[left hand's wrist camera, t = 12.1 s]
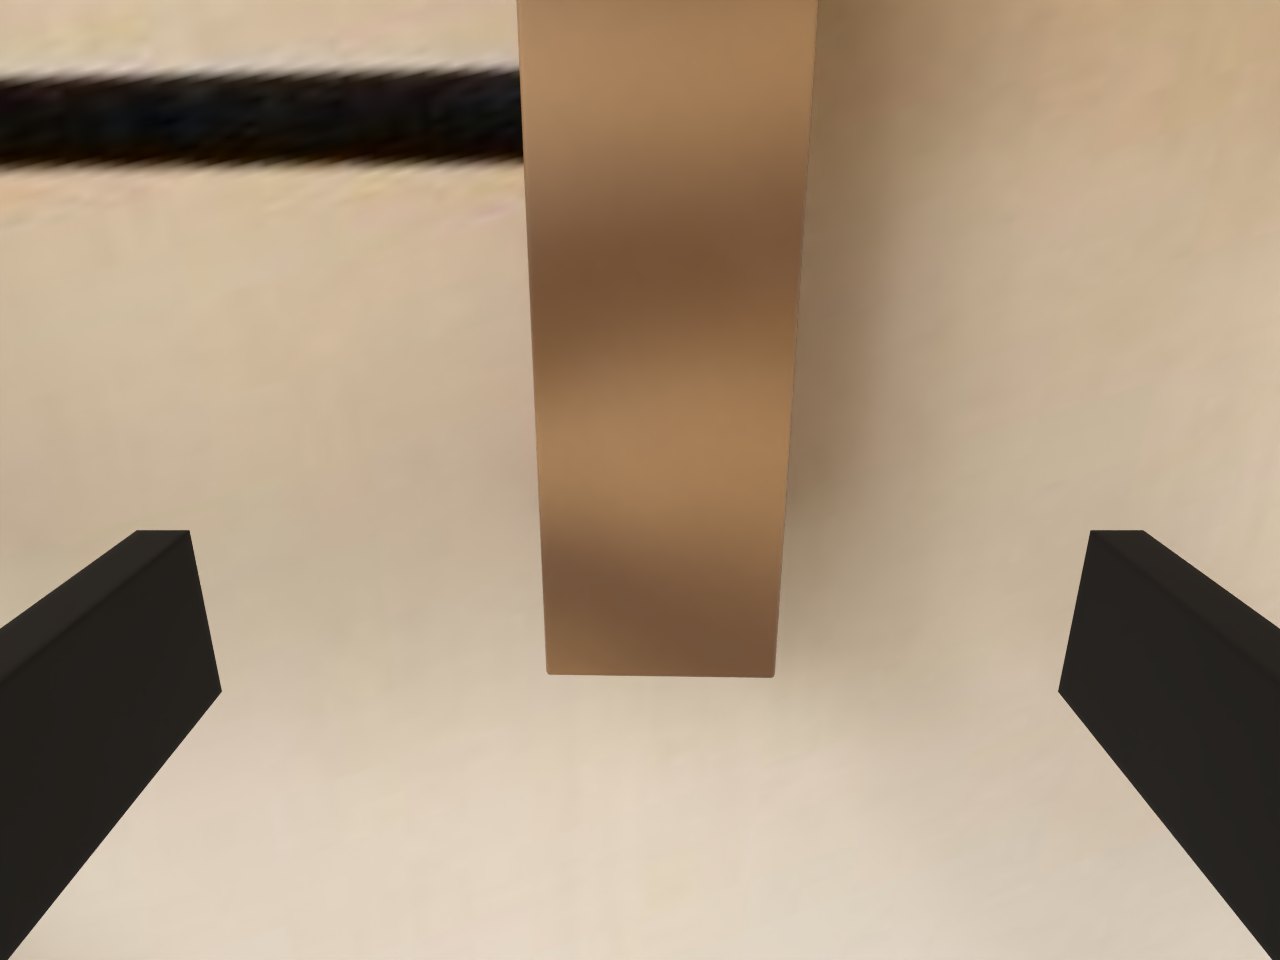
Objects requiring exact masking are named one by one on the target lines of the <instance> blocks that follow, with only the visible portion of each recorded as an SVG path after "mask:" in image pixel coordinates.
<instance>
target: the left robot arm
mask: <svg viewBox="0 0 1280 960" xmlns="http://www.w3.org/2000/svg"><path fill="white" fill-rule="evenodd" d="M221 692H222V690H221V685H220V680H219V675H218V670H217V665H216V660H215V655H214V650H213V645H212V640H211V635H210V630H209V625H208V620H207V615H206V610H205V605H204V600H203V595H202V590H201V585H200V581H199V576H198V571H197V566H196V561H195V556H194V551H193V546H192V541H191V536H190V531H189V530H137V531H135V532H134V533H133V534H131V535H130V536H128V537H127V538H126V539H124V540H123V541H121V542H120V543H119V544H117V545H116V546H114V547H113V548H112V549H110V550H109V551H108V552H106V553H105V554H103V555H102V556H101V557H99V558H98V559H96V560H95V561H94V562H92V563H91V564H89V565H88V566H87V567H85V568H84V569H83V570H81V571H80V572H78V573H77V574H76V575H74V576H73V577H71V578H70V579H69V580H67V581H66V582H64V583H63V584H62V585H60V586H59V587H58V588H56V589H55V590H53V591H52V592H51V593H49V594H48V595H46V596H45V597H44V598H42V599H41V600H39V601H38V602H37V603H35V604H34V605H33V606H31V607H30V608H28V609H27V610H26V611H24V612H23V613H21V614H20V615H19V616H17V617H16V618H15V619H13V620H12V621H10V622H9V623H8V624H6V625H5V626H3V627H2V628H1V629H0V960H8V959H9V957H10V956H11V955H12V954H13V952H14V951H15V950H16V949H17V947H18V946H19V945H20V944H21V942H22V941H23V940H24V939H25V937H26V936H27V935H28V934H29V932H30V931H31V930H32V929H33V927H34V926H35V925H36V924H37V922H38V921H39V920H40V919H41V917H42V916H43V915H44V914H45V912H46V911H47V910H48V909H49V907H50V906H51V905H52V904H53V902H54V901H55V900H56V899H57V897H58V896H59V895H60V894H61V892H62V891H63V890H64V889H65V887H66V886H67V885H68V884H69V882H70V881H71V880H72V879H73V877H74V876H75V875H76V874H77V872H78V871H79V870H80V869H81V867H82V866H83V865H84V864H85V862H86V861H87V860H88V859H89V857H90V856H91V855H92V854H93V852H94V851H95V850H96V849H97V847H98V846H99V845H100V844H101V842H102V841H103V840H104V839H105V837H106V836H107V835H108V833H109V832H110V831H111V830H112V828H113V827H114V826H115V825H116V823H117V822H118V821H119V820H120V818H121V817H122V816H123V815H124V813H125V812H126V811H127V810H128V808H129V807H130V806H131V805H132V803H133V802H134V801H135V800H136V798H137V797H138V796H139V795H140V793H141V792H142V791H143V790H144V788H145V787H146V786H147V785H148V783H149V782H150V781H151V780H152V778H153V777H154V776H155V775H156V773H157V772H158V771H159V770H160V768H161V767H162V766H163V765H164V763H165V762H166V761H167V760H168V758H169V757H170V756H171V755H172V753H173V752H174V751H175V750H176V748H177V747H178V746H179V745H180V743H181V742H182V741H183V740H184V738H185V737H186V736H187V735H188V733H189V732H190V731H191V730H192V728H193V727H194V726H195V725H196V723H197V722H198V721H199V720H200V718H201V717H202V716H203V715H204V713H205V712H206V711H207V710H208V708H209V707H210V706H211V705H212V703H213V702H214V701H215V700H216V698H217V697H218V696H219V694H220V693H221ZM1058 692H1059V693H1060V694H1061V696H1062V697H1063V698H1064V700H1065V701H1066V702H1067V703H1068V705H1069V706H1070V707H1071V708H1072V710H1073V711H1074V712H1075V713H1076V715H1077V716H1078V717H1079V718H1080V720H1081V721H1082V722H1083V723H1084V725H1085V726H1086V727H1087V728H1088V730H1089V731H1090V732H1091V733H1092V735H1093V736H1094V737H1095V738H1096V740H1097V741H1098V742H1099V743H1100V745H1101V746H1102V747H1103V748H1104V750H1105V751H1106V752H1107V753H1108V755H1109V756H1110V757H1111V758H1112V760H1113V761H1114V762H1115V763H1116V765H1117V766H1118V767H1119V768H1120V770H1121V771H1122V772H1123V773H1124V775H1125V776H1126V777H1127V778H1128V780H1129V781H1130V782H1131V783H1132V785H1133V786H1134V787H1135V788H1136V790H1137V791H1138V792H1139V793H1140V795H1141V796H1142V797H1143V798H1144V800H1145V801H1146V802H1147V803H1148V805H1149V806H1150V807H1151V808H1152V810H1153V811H1154V812H1155V813H1156V815H1157V816H1158V817H1159V818H1160V820H1161V821H1162V822H1163V823H1164V825H1165V826H1166V827H1167V828H1168V830H1169V831H1170V832H1171V833H1172V835H1173V836H1174V837H1175V839H1176V840H1177V841H1178V842H1179V844H1180V845H1181V846H1182V847H1183V849H1184V850H1185V851H1186V852H1187V854H1188V855H1189V856H1190V857H1191V859H1192V860H1193V861H1194V862H1195V864H1196V865H1197V866H1198V867H1199V869H1200V870H1201V871H1202V872H1203V874H1204V875H1205V876H1206V877H1207V879H1208V880H1209V881H1210V882H1211V884H1212V885H1213V886H1214V887H1215V889H1216V890H1217V891H1218V892H1219V894H1220V895H1221V896H1222V897H1223V899H1224V900H1225V901H1226V902H1227V904H1228V905H1229V906H1230V907H1231V909H1232V910H1233V911H1234V912H1235V914H1236V915H1237V916H1238V917H1239V919H1240V920H1241V921H1242V922H1243V924H1244V925H1245V926H1246V927H1247V929H1248V930H1249V931H1250V932H1251V934H1252V935H1253V936H1254V937H1255V939H1256V940H1257V941H1258V942H1259V944H1260V945H1261V946H1262V947H1263V949H1264V950H1265V951H1266V952H1267V954H1268V955H1269V956H1270V957H1271V959H1272V960H1280V629H1279V628H1278V627H1277V626H1275V625H1274V624H1272V623H1271V622H1270V621H1268V620H1267V619H1265V618H1264V617H1263V616H1261V615H1260V614H1259V613H1257V612H1256V611H1254V610H1253V609H1252V608H1250V607H1249V606H1247V605H1246V604H1245V603H1243V602H1242V601H1240V600H1239V599H1238V598H1236V597H1235V596H1234V595H1232V594H1231V593H1229V592H1228V591H1227V590H1225V589H1224V588H1222V587H1221V586H1220V585H1218V584H1217V583H1216V582H1214V581H1213V580H1211V579H1210V578H1209V577H1207V576H1206V575H1204V574H1203V573H1202V572H1200V571H1199V570H1197V569H1196V568H1195V567H1193V566H1192V565H1191V564H1189V563H1188V562H1186V561H1185V560H1184V559H1182V558H1181V557H1179V556H1178V555H1177V554H1175V553H1174V552H1172V551H1171V550H1170V549H1168V548H1167V547H1166V546H1164V545H1163V544H1161V543H1160V542H1159V541H1157V540H1156V539H1154V538H1153V537H1152V536H1150V535H1149V534H1147V533H1146V532H1145V531H1143V530H1091V531H1090V536H1089V541H1088V546H1087V551H1086V556H1085V561H1084V566H1083V571H1082V576H1081V580H1080V585H1079V590H1078V595H1077V600H1076V605H1075V610H1074V615H1073V620H1072V625H1071V630H1070V635H1069V640H1068V645H1067V650H1066V655H1065V660H1064V665H1063V670H1062V675H1061V680H1060V685H1059V690H1058Z"/></svg>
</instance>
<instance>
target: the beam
mask: <svg viewBox="0 0 1280 960" xmlns="http://www.w3.org/2000/svg"><path fill="white" fill-rule="evenodd" d="M818 1H819V0H517V21H518V43H519V65H520V88H521V110H522V133H523V155H524V177H525V200H526V222H527V245H528V267H529V289H530V312H531V334H532V356H533V379H534V401H535V424H536V446H537V468H538V491H539V513H540V536H541V558H542V580H543V603H544V625H545V648H546V670H547V673H548V674H550V675H616V676H686V677H756V678H772V677H774V675H775V662H776V647H777V632H778V616H779V601H780V585H781V570H782V555H783V539H784V524H785V509H786V493H787V478H788V462H789V447H790V432H791V416H792V401H793V386H794V370H795V355H796V339H797V324H798V309H799V293H800V278H801V263H802V247H803V232H804V216H805V201H806V186H807V170H808V155H809V140H810V124H811V109H812V93H813V78H814V63H815V47H816V32H817V17H818Z"/></svg>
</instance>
